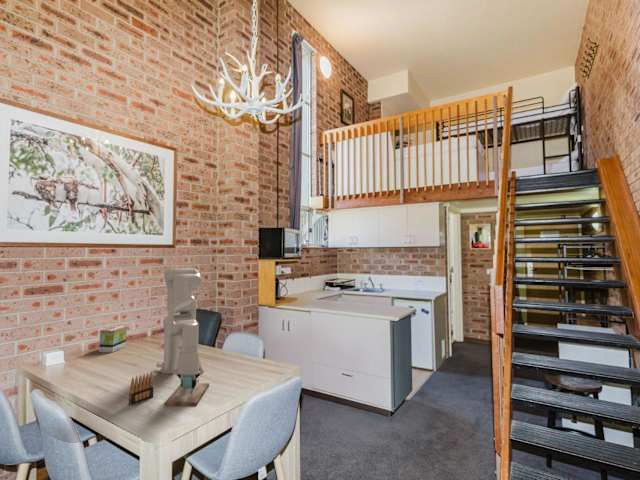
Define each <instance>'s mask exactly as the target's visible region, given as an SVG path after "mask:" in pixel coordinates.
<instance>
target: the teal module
mask: <svg viewBox="0 0 640 480" xmlns="http://www.w3.org/2000/svg"><path fill="white" fill-rule="evenodd" d="M192 380H193V375H192V374H186V375H184V377H183V385H182V388H191V392H192V390H193V389H192ZM194 388H195V387H194Z"/></svg>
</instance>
